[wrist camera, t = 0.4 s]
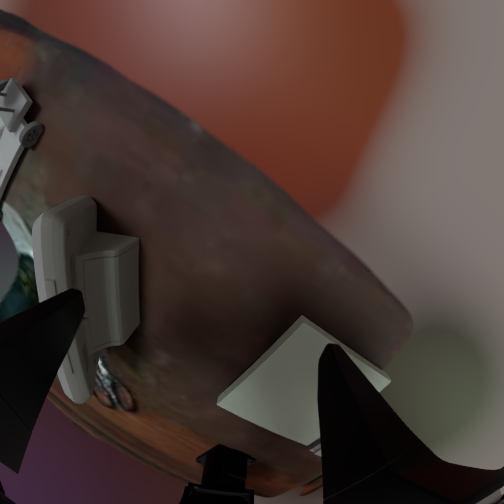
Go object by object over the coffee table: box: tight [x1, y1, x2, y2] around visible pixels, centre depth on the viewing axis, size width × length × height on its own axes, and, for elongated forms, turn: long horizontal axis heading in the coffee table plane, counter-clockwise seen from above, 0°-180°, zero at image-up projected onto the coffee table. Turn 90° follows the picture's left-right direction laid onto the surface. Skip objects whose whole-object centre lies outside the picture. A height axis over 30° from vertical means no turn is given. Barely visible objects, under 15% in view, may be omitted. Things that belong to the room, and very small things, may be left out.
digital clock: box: [32, 195, 140, 404], centre depth 20 cm, size 16×9×11 cm, turn 161°
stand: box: [217, 315, 391, 445], centre depth 25 cm, size 12×12×4 cm
